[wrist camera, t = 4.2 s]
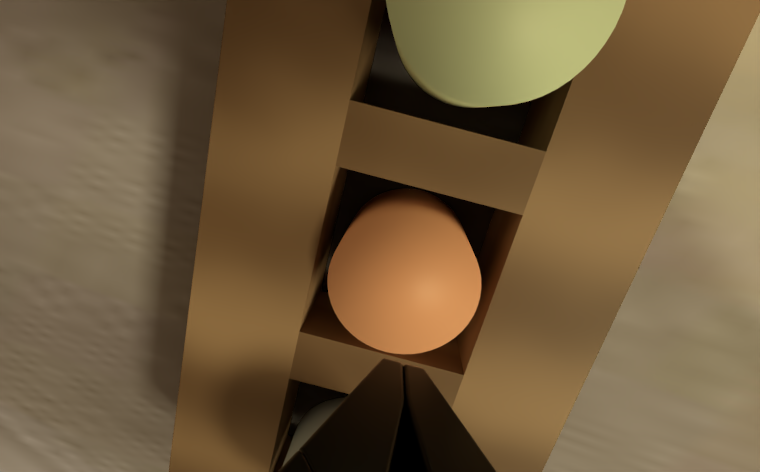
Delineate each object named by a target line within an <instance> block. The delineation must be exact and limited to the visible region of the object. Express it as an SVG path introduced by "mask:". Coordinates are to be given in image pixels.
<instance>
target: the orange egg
mask: <svg viewBox="0 0 760 472" xmlns="http://www.w3.org/2000/svg"><path fill="white" fill-rule="evenodd" d="M328 294H329V298H330V302H331V305H332V307H333V310H334V312H335V314H336V315H337V317H338V319H339V320H340V322H341V323H342V324H343V326H344V327H345V328H346V329H347V330H348V331H349V332H350V333H351V334H352V335H353V336H355V337H356V338H357V339H358V340H360V341H362V342H363V343H365V344H366V345H369V346H371V347H373V348H375V349H378V350H381V351H384V352H389V353H394V354H416V353H423V352H427V351H430V350H433V349H436V348H438V347H441V346H442V345H444V344H446V343H448V342H449V341H451V340H452V339H454V338H455V337H456V336H457V335H458V334H460V333H461V332H462V331H463V330H464V328H465V327H466V326H467V325H468V324H469V322H470V320H471V319H472V317H473V316H474V314H475V311H476V309H477V307H478V303H479V300H480V294H481V274H480V269H479V265H478V262H477V259H476V257H475V255H474V252H473V250H472V248H471V245H470V243H469V241H468V238H467V236H466V234H465V232H464V229H463V227H462V225H461V223H460V220H459V218H458V217H457V215H456V214H455V212H454V211H453V210H452V209H451V208H450V206H448V205H447V204H446V203H445V202H444V201H443V200H441V199H440V198H438V197H436V196H434V195H432V194H430V193H428V192H425V191H422V190H417V189H407V188H404V189H395V190H390V191H387V192H384V193H381V194H379V195H377V196H375V197H374V198H372V199H371V200H369V201H368V202H367V203H366V204H365V205H363V206H362V208H361V209H360V210H359V211H358V212H357V214H356V215H355V217H354V218H353V220H352V222H351V224H350V226H349V227H348V229H347V231H346V233H345V234H344V236H343V238H342V240H341V242H340V243H339V245H338V247H337V249H336V250H335V253H334V255H333V257H332V259H331V263H330V266H329V271H328Z"/></svg>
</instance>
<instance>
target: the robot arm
mask: <svg viewBox="0 0 760 472" xmlns="http://www.w3.org/2000/svg"><path fill="white" fill-rule="evenodd" d="M278 472H496V470H495V469H494V467H493V466H492V465H491V463H490V462H489V460H488V459H487V457H486V456H485V455H484V453H483V452H482V450H481V449H480V448H479V446H478V445H477V443H476V442H475V440H474V439H473V438H472V436H471V435H470V433H469V432H468V431H467V429H466V428H465V426H464V425H463V423H462V422H461V421H460V419H459V418H458V416H457V415H456V413H455V412H454V411H453V409H452V408H451V406H450V405H449V404H448V402H447V401H446V399H445V398H444V396H443V395H442V394H441V392H440V391H439V389H438V388H437V386H436V385H435V384H434V382H433V381H432V379H431V378H430V377H429V375H428V374H427V372H426V371H425V370H424V369H423V368H421V367H417V366H413V365H409V364H404V365H402V363H401V362H398V361H394V360H390V359H386V358H383V359H382V360H381V361H380V362H379V363H378V364H377V365H376V366H375V367H374V368H373V369H372V370H371V371H370V373H369V374H368V375H367V376H366V377H365V378H364V379H363V380H362V381H361V382H360V383H359V384H358V386H357V387H356V388H355V389H354V390H353V391H352V392H351V393H350V394H349V395H348V396H347V398H346V399H345V400H344V401H343V402H342V403H341V404H340V405H339V406H338V407H337V408H336V409H335V411H334V412H333V413H332V414H331V415H330V416H329V417H328V418H327V419H326V420H325V421H324V423H323V424H322V425H321V426H320V427H319V428H318V429H317V430H316V431H315V432H314V433H313V434H312V436H311V437H310V438H309V439H308V440H307V441H306V442H305V443H304V444H303V445H302V446H301V448H300V449H299V451H297V452H296V453H295V454H294V455H293V456H292V457H291V458H290V459H289V460H288V461H287V462H286V463H285V465H284V466H283V467H282V468H281V469H280V470H279V471H278Z"/></svg>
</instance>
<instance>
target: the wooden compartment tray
mask: <svg viewBox="0 0 760 472" xmlns="http://www.w3.org/2000/svg"><path fill="white" fill-rule="evenodd" d="M385 6H386V0H227V5H226V13H225V21H224V29H223V37H222V45H221V53H220V61H219V69H218V78H217V86H216V94H215V102H214V110H213V118H212V126H211V134H210V142H209V150H208V158H207V166H206V175H205V183H204V191H203V199H202V207H201V215H200V223H199V231H198V239H197V247H196V255H195V263H194V272H193V280H192V288H191V296H190V304H189V312H188V320H187V328H186V336H185V344H184V352H183V360H182V369H181V377H180V385H179V393H178V401H177V409H176V417H175V425H174V433H173V441H172V449H171V457H170V466H169V472H278V471H279V470H280V469H281V468H282V466H283V463H284V461H285V458H286V455H287V453H288V450H289V447H290V444H291V442H292V439H293V437H292V436H288V432H289V427H290V423H291V418H292V414H293V410H294V405H295V401H296V396H297V392H298V388H299V383H300V381H301V382H305V383H309V384H313V385H316V386H320V387H324V388H328V389H331V390H335V391H339V392H343V393H347V394H350V393H351V392H352V391H353V390H354V389H355V388H356V387H357V386H358V384H359V383H360V382H361V381H362V380H363V379H364V378H365V377H366V376H367V375H368V374H369V373H370V371H371V370H372V369H373V368H374V367H375V366H376V365H377V364H378V363H379V362H380V361H381V360H382V359H383V358H386V359H390V360H394V361H398V362H401V363H402V365H404V364H409V365H413V366H417V367H421V368H423V369H424V370H425V371H426V372H427V374H428V375H429V377H430V378H431V379H432V381H433V382H434V384H435V385H436V386H437V388H438V389H439V391H440V392H441V394H442V395H443V396H444V398H445V399H446V401H447V402H448V404H449V405H450V406H451V408H452V409H453V411H454V412H455V413H456V415H457V416H458V418H459V419H460V421H461V422H462V423H463V425H464V426H465V428H466V429H467V431H468V432H469V433H470V435H471V436H472V438H473V439H474V440H475V442H476V443H477V445H478V446H479V448H480V449H481V450H482V452H483V453H484V455H485V456H486V457H487V459H488V460H489V462H490V463H491V465H492V466H493V467H494V469H495V470H496V472H542V470H543V468H544V466H545V464H546V462H547V460H548V458H549V456H550V454H551V451H552V449H553V447H554V445H555V443H556V441H557V439H558V437H559V435H560V432H561V430H562V428H563V426H564V424H565V422H566V420H567V418H568V416H569V413H570V411H571V409H572V407H573V405H574V403H575V401H576V399H577V397H578V395H579V392H580V390H581V388H582V386H583V384H584V382H585V380H586V378H587V376H588V373H589V371H590V369H591V367H592V365H593V363H594V361H595V359H596V357H597V354H598V352H599V350H600V348H601V346H602V344H603V342H604V340H605V338H606V336H607V333H608V331H609V329H610V327H611V325H612V323H613V321H614V319H615V317H616V314H617V312H618V310H619V308H620V306H621V304H622V302H623V300H624V298H625V295H626V293H627V291H628V289H629V287H630V285H631V283H632V281H633V279H634V277H635V274H636V272H637V270H638V268H639V266H640V264H641V262H642V260H643V258H644V255H645V253H646V251H647V249H648V247H649V245H650V243H651V241H652V239H653V236H654V234H655V232H656V230H657V228H658V226H659V224H660V222H661V220H662V218H663V215H664V213H665V211H666V209H667V207H668V205H669V203H670V201H671V199H672V196H673V194H674V192H675V190H676V188H677V186H678V184H679V182H680V180H681V177H682V175H683V173H684V171H685V169H686V167H687V165H688V163H689V161H690V159H691V156H692V154H693V152H694V150H695V148H696V146H697V144H698V142H699V140H700V137H701V135H702V133H703V131H704V129H705V127H706V125H707V123H708V121H709V119H710V116H711V114H712V112H713V110H714V108H715V106H716V104H717V102H718V100H719V97H720V95H721V93H722V91H723V89H724V87H725V85H726V83H727V81H728V78H729V76H730V74H731V72H732V70H733V68H734V66H735V64H736V62H737V60H738V57H739V55H740V53H741V51H742V49H743V47H744V45H745V43H746V41H747V38H748V36H749V34H750V32H751V30H752V28H753V26H754V24H755V22H756V19H757V17H758V15H759V13H760V0H626V2H625V5H624V8H623V11H622V13H621V15H620V18H619V20H618V22H617V24H616V27H615V28H614V30H613V32H612V33H611V35H610V37H609V38H608V40H607V42H606V43H605V45H604V46H603V47H602V49H601V50H600V51H599V52H598V54H597V55H596V56H595V58H594V59H593V60H592V61H591V62H590V63H589V64H588V65H587V66H586V67H585V68H584V69H583V70H582V71H581V72H579V73H578V74H577V75H576V76H575V77H574V78H572V79H571V80H570V81H568V82H567V83H565V84H564V85H562V86H561V87H559V88H558V89H556V90H554V91H552V92H550V93H548V94H546V95H544V96H542V97H539V98H536V99H533V100H532V103H531V106H530V109H529V112H528V115H527V118H526V121H525V124H524V126H523V129H522V132H521V135H520V138H519V141H518V143H515V142H511V141H507V140H503V139H499V138H496V137H492V136H488V135H484V134H480V133H477V132H473V131H469V130H465V129H462V128H458V127H454V126H450V125H446V124H443V123H439V122H435V121H431V120H427V119H424V118H420V117H416V116H412V115H409V114H405V113H401V112H397V111H393V110H390V109H386V108H382V107H378V106H374V105H371V104H367V103H363V102H364V98H365V93H366V89H367V85H368V80H369V76H370V71H371V67H372V63H373V58H374V54H375V50H376V45H377V41H378V36H379V32H380V28H381V23H382V19H383V14H384V10H385ZM348 169H349V170H353V171H357V172H361V173H365V174H368V175H372V176H376V177H380V178H384V179H387V180H391V181H395V182H399V183H403V184H406V185H410V186H414V187H418V188H421V189H425V190H429V191H433V192H437V193H440V194H444V195H448V196H452V197H456V198H459V199H463V200H467V201H471V202H474V203H478V204H482V205H486V206H490V207H493V208H495V210H494V213H493V216H492V219H491V222H490V225H489V228H488V231H487V234H486V236H485V239H484V242H483V245H482V248H481V251H480V254H479V257H478V260H477V262H478V265H479V269H480V274H481V294H480V300H479V303H478V307H477V309H476V311H475V314H474V316H473V317H472V319H471V320H470V322H469V324H468V325H467V326H466V327H465V328H464V330H463V331H462V332H461V333H460V334H458V335H457V336H456V337H455V338H454V339H452V340H451V341H449V342H448V343H446V344H444V345H442V346H441V347H438V348H436V349H433V350H430V351H427V352H423V353H416V354H394V353H389V352H384V351H381V350H378V349H375V348H373V347H371V346H369V345H366V344H365V343H363V342H362V341H360V340H358V339H357V338H356V337H355V336H353V335H352V334H351V333H350V332H349V331H348V330H347V329H346V328H345V327H344V326H343V324H342V323H341V322H340V320H339V319H338V317H337V315H336V314H335V312H334V310H333V307H332V305H331V302H330V298H329V294H328V293H327V292H323V291H321V287H322V282H323V278H324V273H325V269H326V265H327V260H328V256H329V251H330V247H331V243H332V238H333V234H334V230H335V225H336V221H337V216H338V212H339V208H340V203H341V199H342V194H343V190H344V186H345V181H346V177H347V172H348Z"/></svg>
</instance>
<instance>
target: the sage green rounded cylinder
mask: <svg viewBox="0 0 760 472" xmlns="http://www.w3.org/2000/svg"><path fill="white" fill-rule="evenodd" d="M346 398H347V397H346ZM346 398H336V399H331V400H327V401H325V402H322V403H320V404H318V405H316V406H315V407H313V408H312V409H310V410H309V411H308V412H307V413H306V414H305V415H304V416H303V417H302V419H301V420H300V422H299V424H298V426H297V428H296V431H295V434H294V436H293V439H292V442H291V444H290V447H289V450H288V453H287V455H286V458H285V461H284V463H283V466H284V465H285V463H286V462H287V461H288V460H289V459H290V458H291V457H292V456H293V455H294V454H295V453H296V452H297V451H299V449H300V448H301V446H302V445H303V444H304V443H305V442H306V441H307V440H308V439H309V438H310V437H311V436H312V434H313V433H314V432H315V431H316V430H317V429H318V428H319V427H320V426H321V425H322V424H323V423H324V421H325V420H326V419H327V418H328V417H329V416H330V415H331V414H332V413H333V412H334V411H335V409H336V408H337V407H338V406H339V405H340V404H341V403H342V402H343V401H344V400H345V399H346ZM283 466H282V467H283Z"/></svg>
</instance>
